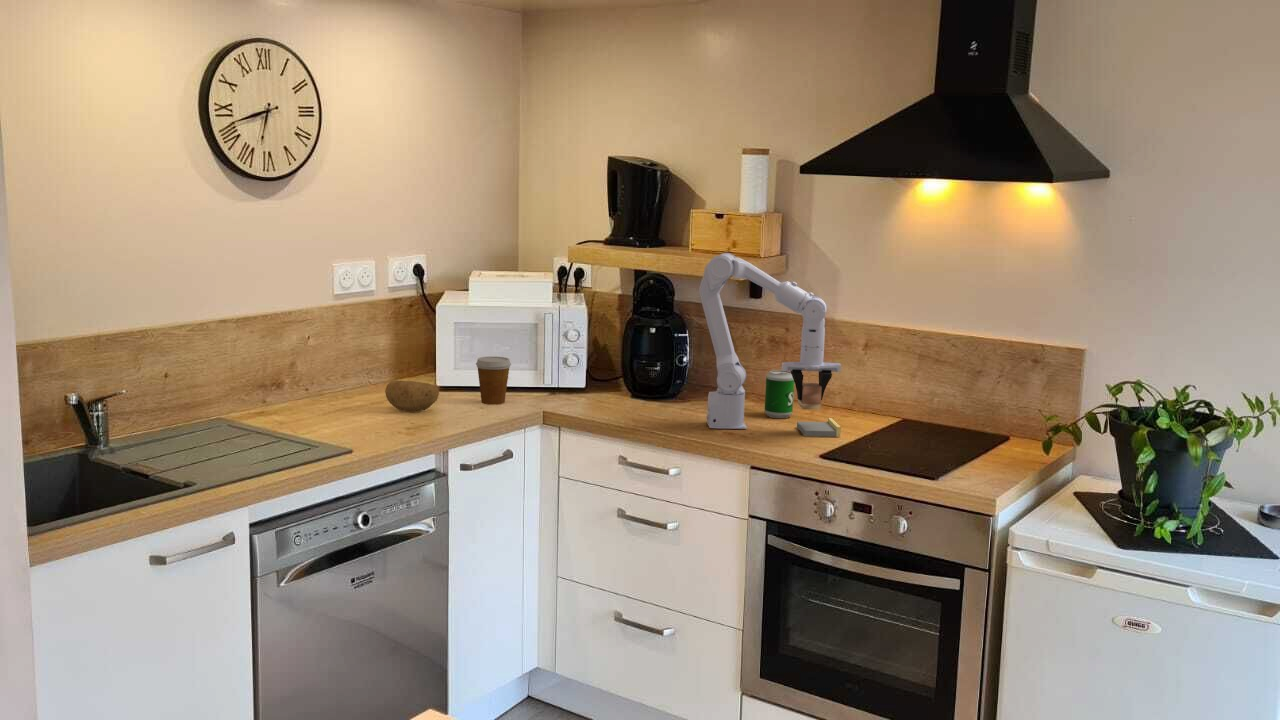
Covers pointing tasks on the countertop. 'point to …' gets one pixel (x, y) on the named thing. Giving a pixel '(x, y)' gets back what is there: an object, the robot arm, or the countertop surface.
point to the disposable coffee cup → (493, 378)
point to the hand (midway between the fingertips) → (809, 399)
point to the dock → (820, 428)
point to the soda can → (779, 394)
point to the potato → (411, 395)
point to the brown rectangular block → (811, 396)
